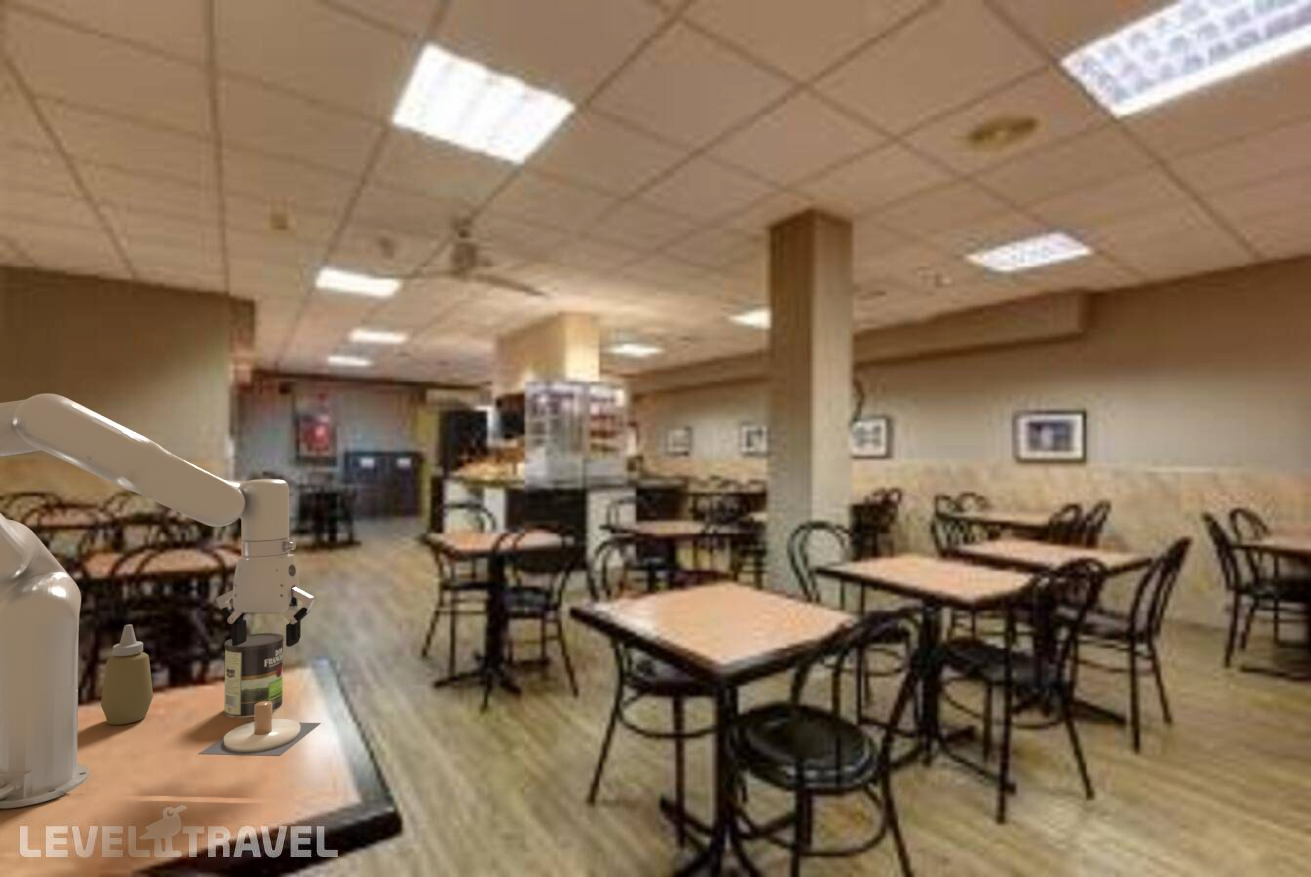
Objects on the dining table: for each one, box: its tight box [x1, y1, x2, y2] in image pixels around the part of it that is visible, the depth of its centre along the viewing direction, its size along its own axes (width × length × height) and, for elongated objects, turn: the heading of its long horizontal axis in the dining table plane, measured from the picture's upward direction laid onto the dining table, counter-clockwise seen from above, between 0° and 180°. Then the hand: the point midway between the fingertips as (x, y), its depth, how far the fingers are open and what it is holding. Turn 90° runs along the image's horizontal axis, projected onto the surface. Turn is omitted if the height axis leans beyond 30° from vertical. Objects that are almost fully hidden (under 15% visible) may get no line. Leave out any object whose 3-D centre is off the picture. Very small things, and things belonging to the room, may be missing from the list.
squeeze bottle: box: [100, 624, 154, 726], centre depth 137 cm, size 8×8×18 cm
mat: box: [198, 720, 322, 757], centre depth 128 cm, size 14×14×1 cm
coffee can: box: [223, 632, 285, 718], centre depth 143 cm, size 10×10×14 cm
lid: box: [223, 701, 301, 752], centre depth 128 cm, size 12×12×6 cm
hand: (266, 644), depth 128 cm, fingers open, 9 cm apart
